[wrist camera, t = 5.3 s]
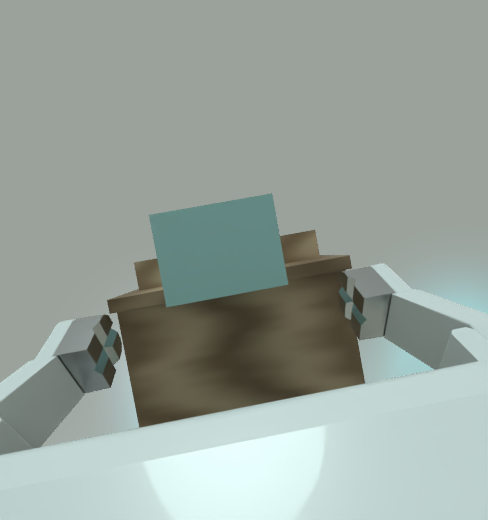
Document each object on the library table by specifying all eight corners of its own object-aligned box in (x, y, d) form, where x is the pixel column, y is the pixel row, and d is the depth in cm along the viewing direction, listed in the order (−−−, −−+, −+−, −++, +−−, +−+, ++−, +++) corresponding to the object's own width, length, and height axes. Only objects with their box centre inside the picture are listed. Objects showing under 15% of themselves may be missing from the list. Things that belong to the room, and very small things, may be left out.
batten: (166, 307, 9) (148, 215, 9) (212, 271, 29) (206, 242, 29) (288, 284, 9) (271, 193, 9) (250, 264, 29) (245, 235, 29)
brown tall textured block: (189, 721, 17) (100, 266, 17) (209, 507, 32) (162, 261, 31) (421, 665, 18) (343, 222, 17) (336, 480, 32) (292, 237, 32)
